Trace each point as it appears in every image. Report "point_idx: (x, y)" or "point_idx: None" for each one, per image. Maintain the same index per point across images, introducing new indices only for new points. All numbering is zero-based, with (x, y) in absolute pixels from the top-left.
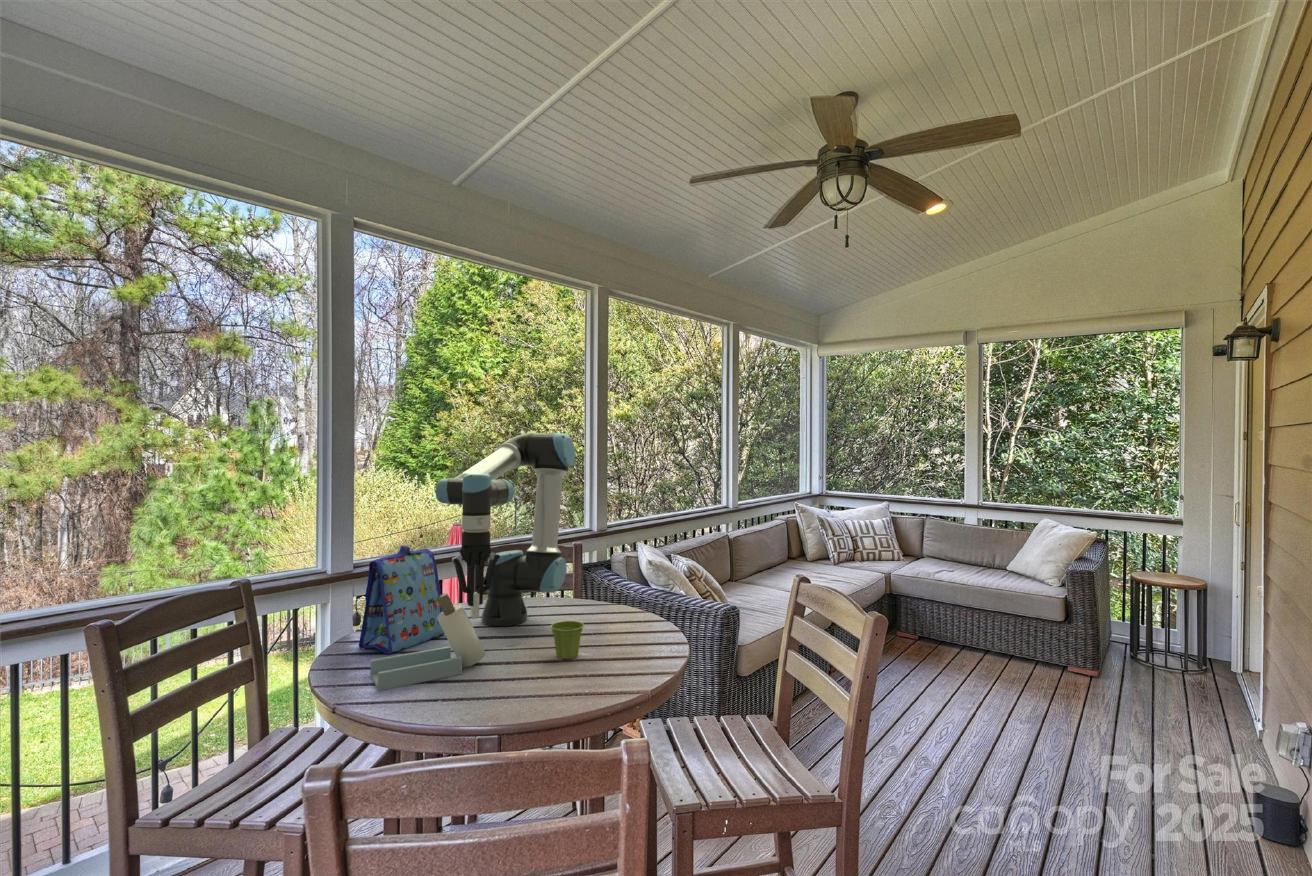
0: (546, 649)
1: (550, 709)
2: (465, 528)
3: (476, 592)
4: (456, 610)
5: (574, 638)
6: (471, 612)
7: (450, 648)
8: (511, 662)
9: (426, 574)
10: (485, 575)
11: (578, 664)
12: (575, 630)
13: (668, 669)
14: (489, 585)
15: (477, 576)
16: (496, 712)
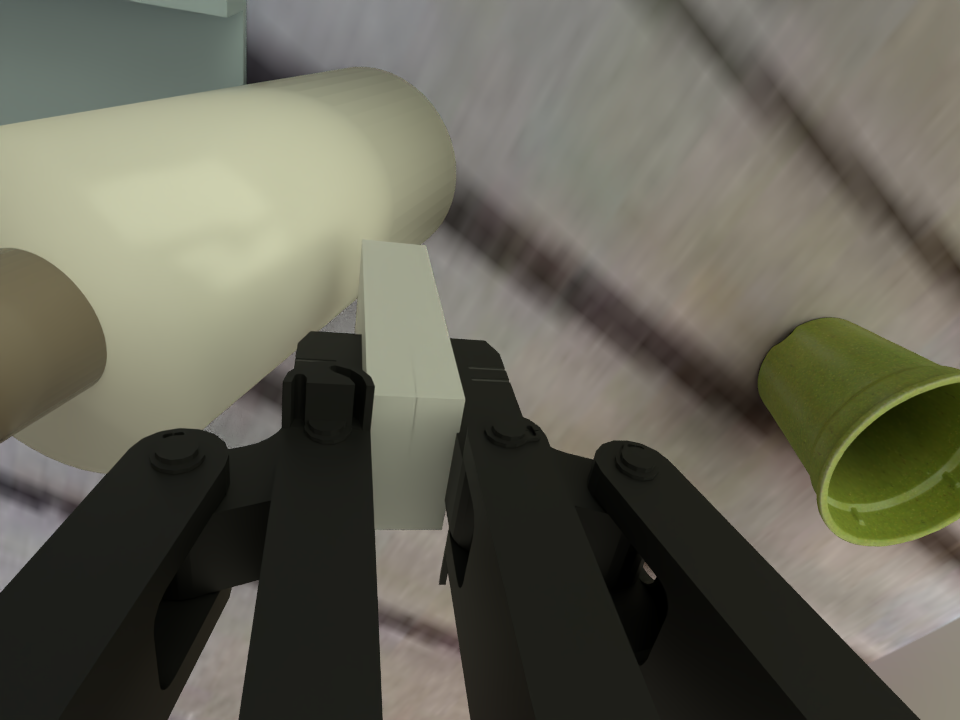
0: (834, 211)
1: (401, 712)
2: None
3: (449, 434)
4: (111, 407)
5: (852, 491)
6: (359, 294)
7: (225, 15)
8: (560, 278)
9: None
10: (738, 652)
11: (749, 476)
12: (879, 534)
13: (880, 646)
14: (634, 610)
15: (506, 716)
16: (240, 671)
